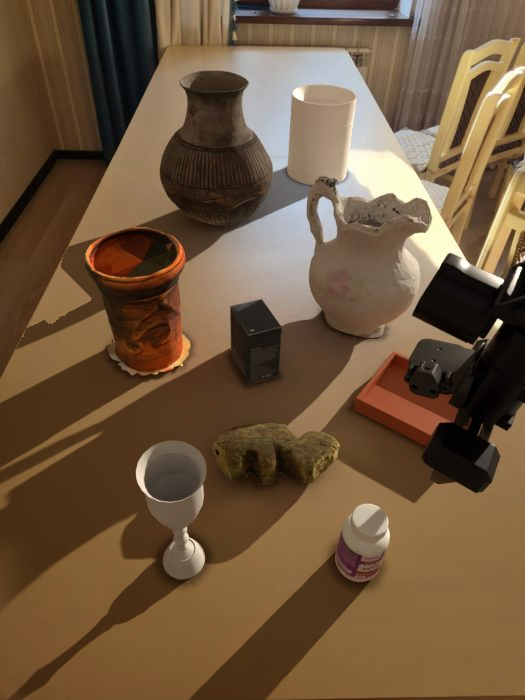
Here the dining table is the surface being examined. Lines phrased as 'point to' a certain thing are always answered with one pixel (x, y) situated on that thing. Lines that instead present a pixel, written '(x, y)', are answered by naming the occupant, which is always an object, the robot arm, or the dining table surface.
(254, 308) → the box
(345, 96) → the canister
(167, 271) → the vessel
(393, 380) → the tray
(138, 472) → the chalice
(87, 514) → the dining table surface
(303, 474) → the sculpture
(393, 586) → the dining table surface
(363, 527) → the pill bottle
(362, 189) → the dining table surface
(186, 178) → the vase
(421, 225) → the ceramic pitcher
